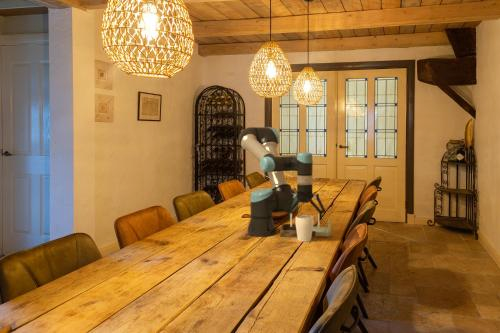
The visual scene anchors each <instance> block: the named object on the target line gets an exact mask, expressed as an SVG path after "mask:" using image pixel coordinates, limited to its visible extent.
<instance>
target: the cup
mask: <svg viewBox="0 0 500 333" xmlns="http://www.w3.org/2000/svg"><path fill="white" fill-rule="evenodd" d="M314 223H315V222H314V215H311V214H298V215H295V223H294V224H296V231H297V237H296V238H297V241H298V242H303V243H304V242H311V241H312V238H311V237H312V230H313V225H314Z"/></svg>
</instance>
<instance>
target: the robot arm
mask: <svg viewBox="0 0 500 333" xmlns="http://www.w3.org/2000/svg"><path fill="white" fill-rule="evenodd" d="M279 138H280V136H279V133H278V130H276V128H274V127H270V126H265V127H261V126H260V127H259V126H258V127H255V126H249V127H247V128H244V129H243V130H242V131H241V132H240V133H239V135H238V144H239V145H240V147H241V148H242V149H243V150H245V151H248V152H249V153H250V154H251V155H252V156H253V157H254V158H255V159H256V160H257V162H259V166H260V169H261V171H262V172H264V173H267V176H268V178H269V182H270V185H271V188H260V189H255V190H253V191H252V192H251V193H250V218H249V223H248V226H247V232H246V233H247V235H249V236H254V237H270V236H274V235H276V225H275V223H274V219H273V214H277V213H287V219H288V220H289V222H290V223H289V224H290V227H292V224H293V212H294V211H295V210H297V208H298V205H299V203H302V204H304V203H305V204H308V203H310V204H311V206H313V207H314V209H315V210H316V211H317V227H320V221H322V220H323V214H324V213H325V214H326V212H327V211H326V209H325V207H324V205H323V203H322V201H321V199H320V195H319V193H314V192H313V170H314V169H313V166H314V165H313V163H314V160H313V154H312V152H298V153H297V155H289V156H279V155H278V152H277V149H278V145H279V143H280V139H279ZM285 172H297V174H296V175H297V176H296V178H297V179H296V180H297V185H296V189H292V188H293V187H292V185H291V184H290V183H288V182H287V179H286V176H285ZM313 198H315V199H316V201H317V202H318V205H319V206H320V207H318V205H317V204H316V203H315V202H314V199H313Z"/></svg>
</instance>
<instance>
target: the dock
mask: <svg viewBox="0 0 500 333" xmlns="http://www.w3.org/2000/svg"><path fill="white" fill-rule="evenodd" d="M313 227H317V226H316V224H313ZM315 233H316V231H312V237H311V239H312V238H313V239H316V236H315ZM279 235H280V237H281V238H297V231H296V223H294V224H293V223H292V227H290V223H282V225H281V228H280V234H279Z"/></svg>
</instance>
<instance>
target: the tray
mask: <svg viewBox="0 0 500 333" xmlns="http://www.w3.org/2000/svg"><path fill="white" fill-rule="evenodd" d="M327 225H328V226H319V227H318V226H316V227H313V230H312V231H316V233H315V237H332V222H331V219H328V224H327Z"/></svg>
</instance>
